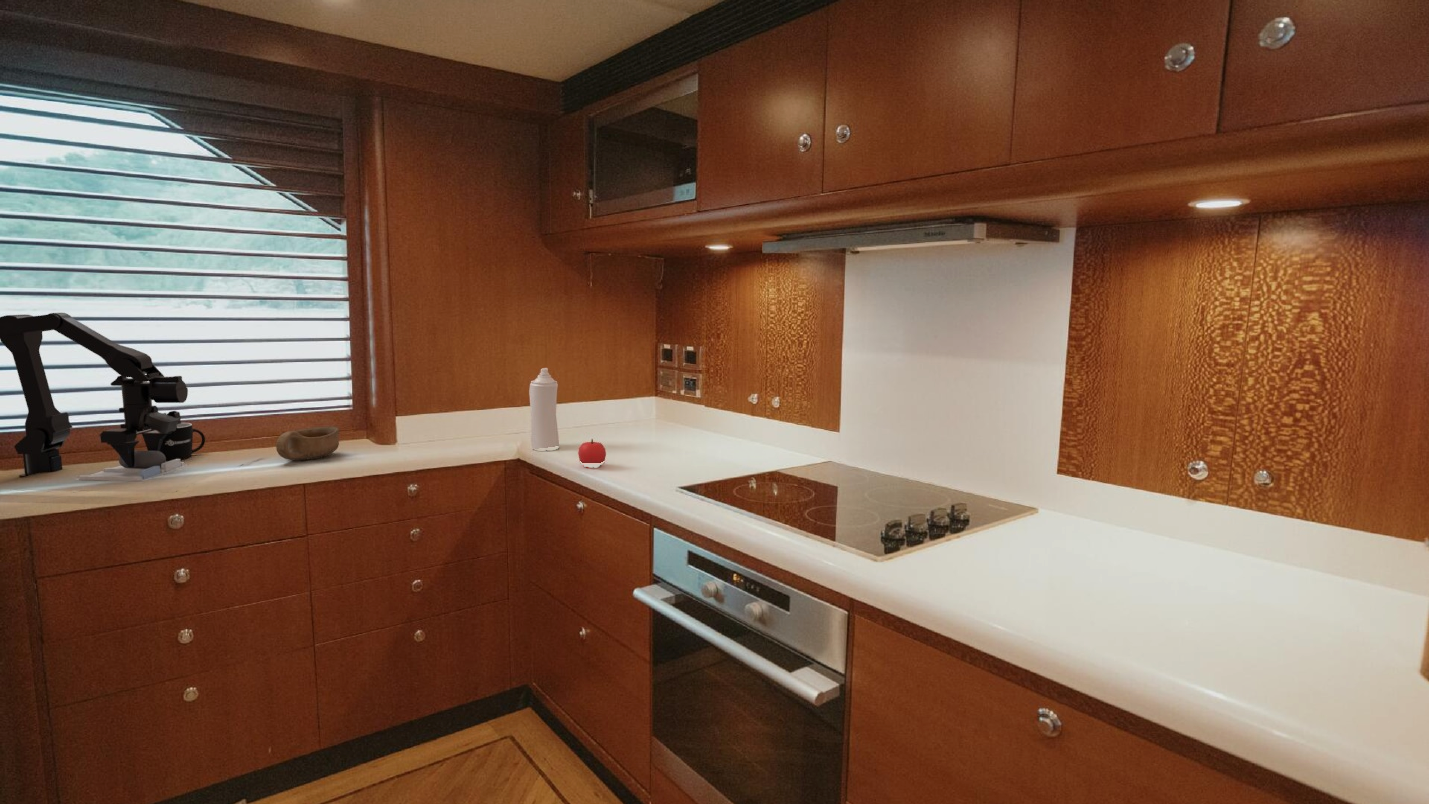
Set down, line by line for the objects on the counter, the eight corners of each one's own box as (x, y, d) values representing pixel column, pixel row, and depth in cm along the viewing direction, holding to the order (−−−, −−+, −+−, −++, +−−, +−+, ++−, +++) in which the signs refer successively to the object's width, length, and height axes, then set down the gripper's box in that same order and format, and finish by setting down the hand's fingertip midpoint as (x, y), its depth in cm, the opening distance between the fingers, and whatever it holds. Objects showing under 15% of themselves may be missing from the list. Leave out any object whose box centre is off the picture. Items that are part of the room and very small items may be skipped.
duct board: (75, 484, 175) (73, 471, 174) (125, 468, 190) (124, 456, 190) (144, 485, 175) (143, 472, 175) (189, 469, 191) (188, 457, 191)
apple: (608, 463, 212) (608, 436, 211) (603, 470, 204) (603, 442, 203) (580, 463, 212) (581, 435, 211) (575, 469, 204) (575, 441, 203)
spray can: (518, 447, 229) (518, 368, 226) (542, 442, 239) (542, 366, 235) (546, 452, 224) (546, 371, 220) (569, 446, 233) (569, 368, 229)
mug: (161, 467, 192) (158, 429, 191) (148, 462, 197) (145, 425, 196) (213, 460, 202) (210, 424, 200) (199, 455, 207) (196, 419, 206)
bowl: (319, 462, 198) (307, 427, 196) (271, 474, 199) (259, 439, 197) (354, 447, 215) (343, 415, 214) (309, 459, 216) (298, 426, 215)
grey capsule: (114, 470, 184) (113, 452, 183) (128, 465, 188) (127, 448, 188) (158, 471, 184) (156, 453, 184) (170, 466, 189) (169, 449, 188)
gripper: (143, 409, 175) (149, 473, 177) (195, 398, 193) (199, 456, 196) (95, 408, 174) (101, 472, 177) (151, 397, 193) (156, 455, 195)
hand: (143, 463), depth 186 cm, fingers open, 8 cm apart
